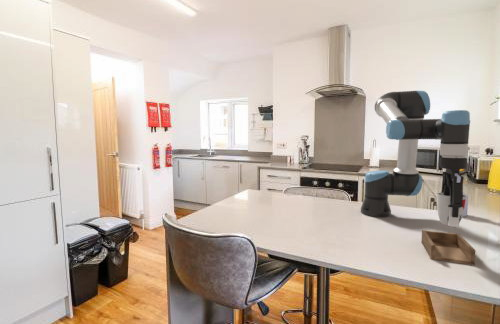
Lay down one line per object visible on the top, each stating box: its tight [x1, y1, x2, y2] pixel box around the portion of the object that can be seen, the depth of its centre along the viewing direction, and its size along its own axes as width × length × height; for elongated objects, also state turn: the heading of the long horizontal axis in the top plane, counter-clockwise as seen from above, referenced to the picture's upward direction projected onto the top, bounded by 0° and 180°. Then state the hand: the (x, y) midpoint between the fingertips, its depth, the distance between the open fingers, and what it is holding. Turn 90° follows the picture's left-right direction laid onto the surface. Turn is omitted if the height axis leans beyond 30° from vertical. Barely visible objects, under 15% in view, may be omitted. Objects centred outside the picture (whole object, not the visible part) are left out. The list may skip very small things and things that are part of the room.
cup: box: [436, 192, 466, 226], centre depth 93 cm, size 8×8×10 cm
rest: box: [421, 229, 476, 266], centre depth 97 cm, size 12×16×5 cm
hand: (449, 222), depth 93 cm, fingers closed on cup, 8 cm apart
